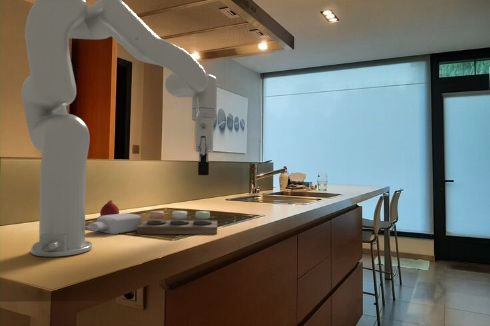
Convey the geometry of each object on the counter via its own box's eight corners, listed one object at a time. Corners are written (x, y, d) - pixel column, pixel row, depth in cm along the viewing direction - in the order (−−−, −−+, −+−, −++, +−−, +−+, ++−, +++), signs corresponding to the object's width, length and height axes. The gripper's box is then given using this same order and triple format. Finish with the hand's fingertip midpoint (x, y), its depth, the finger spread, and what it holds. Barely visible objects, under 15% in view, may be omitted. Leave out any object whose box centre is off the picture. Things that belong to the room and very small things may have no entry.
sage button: (209, 219, 111) (209, 213, 111) (194, 219, 111) (195, 213, 111) (209, 216, 115) (210, 211, 115) (195, 216, 115) (195, 211, 115)
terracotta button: (162, 218, 110) (162, 212, 110) (147, 218, 110) (147, 212, 110) (164, 216, 114) (165, 210, 114) (150, 216, 114) (150, 210, 114)
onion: (112, 226, 117) (112, 201, 117) (96, 225, 119) (96, 200, 119) (122, 223, 123) (122, 199, 123) (106, 222, 124) (107, 198, 124)
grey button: (186, 218, 110) (186, 212, 110) (171, 218, 110) (171, 212, 110) (187, 216, 115) (187, 211, 115) (173, 216, 114) (173, 210, 114)
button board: (216, 234, 107) (217, 224, 107) (136, 233, 106) (137, 224, 106) (217, 226, 119) (217, 218, 119) (145, 226, 118) (145, 218, 118)
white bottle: (77, 234, 105) (123, 227, 117) (95, 238, 99) (141, 231, 111) (77, 217, 105) (123, 212, 117) (95, 221, 99) (141, 215, 111)
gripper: (216, 112, 106) (215, 176, 106) (216, 118, 121) (215, 174, 121) (189, 112, 105) (189, 176, 105) (193, 118, 120) (193, 174, 120)
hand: (203, 175), depth 113 cm, fingers closed
